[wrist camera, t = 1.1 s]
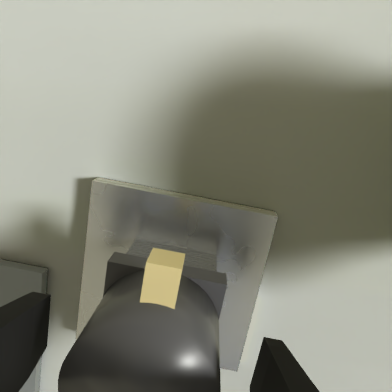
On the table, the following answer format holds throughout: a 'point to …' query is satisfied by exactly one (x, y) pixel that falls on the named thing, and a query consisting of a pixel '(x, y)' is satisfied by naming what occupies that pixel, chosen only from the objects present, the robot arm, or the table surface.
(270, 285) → the table surface
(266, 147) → the table surface
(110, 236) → the grey square holder
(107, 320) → the dark grey rounded piece
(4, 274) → the coaster
